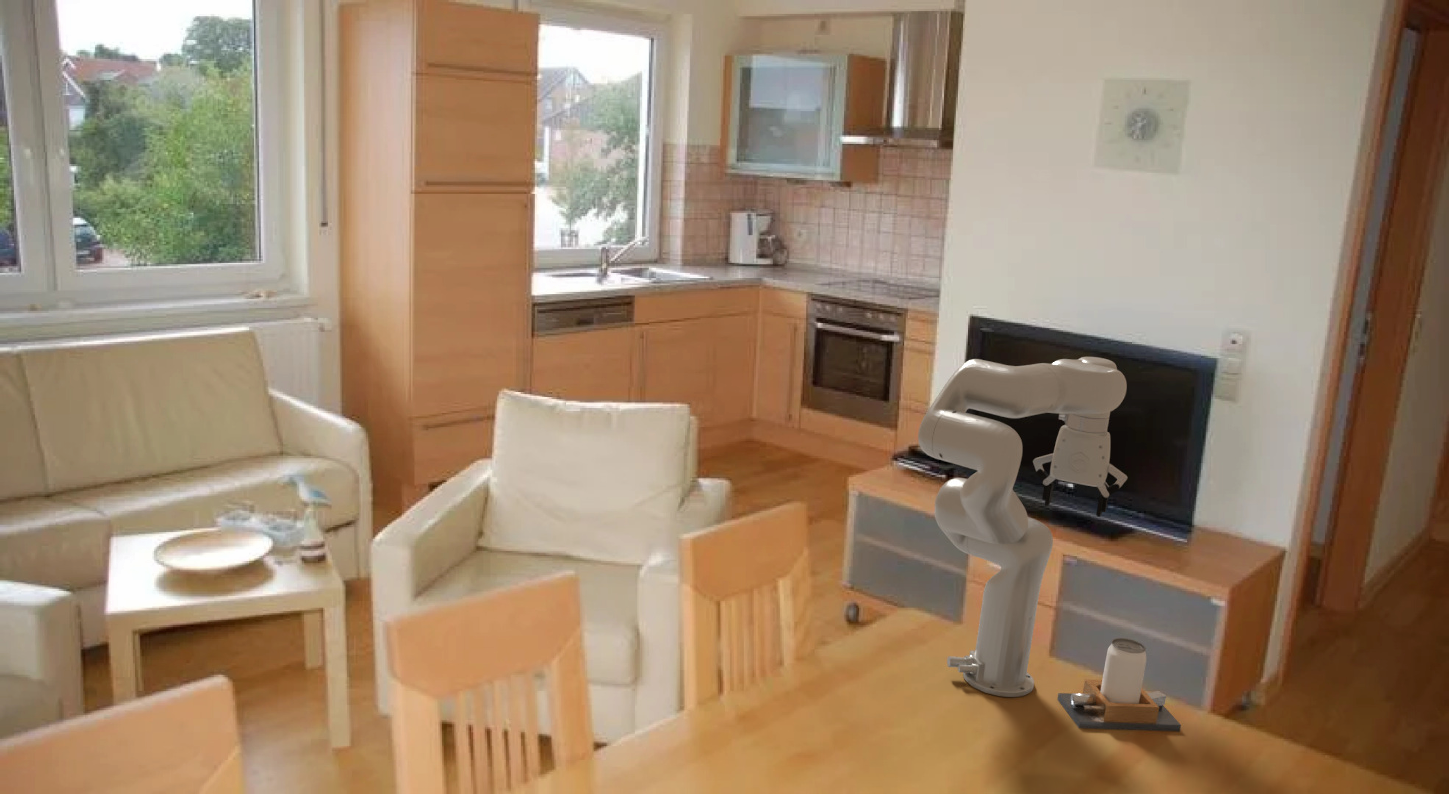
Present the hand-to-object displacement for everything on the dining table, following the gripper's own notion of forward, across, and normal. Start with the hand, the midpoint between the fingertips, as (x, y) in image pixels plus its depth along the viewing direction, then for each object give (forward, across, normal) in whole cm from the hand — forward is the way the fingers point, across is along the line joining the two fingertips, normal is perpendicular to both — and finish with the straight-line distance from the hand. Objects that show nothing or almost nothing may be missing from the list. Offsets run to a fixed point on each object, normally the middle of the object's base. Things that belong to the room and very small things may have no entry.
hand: (1073, 509), depth 223 cm
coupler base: (+28, +15, -22) cm, 39 cm away
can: (+27, +15, -22) cm, 38 cm away
